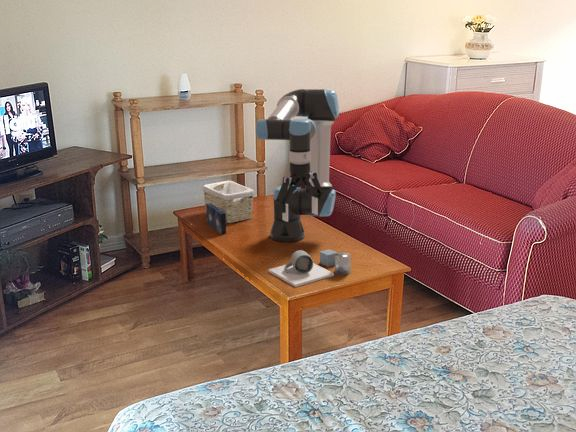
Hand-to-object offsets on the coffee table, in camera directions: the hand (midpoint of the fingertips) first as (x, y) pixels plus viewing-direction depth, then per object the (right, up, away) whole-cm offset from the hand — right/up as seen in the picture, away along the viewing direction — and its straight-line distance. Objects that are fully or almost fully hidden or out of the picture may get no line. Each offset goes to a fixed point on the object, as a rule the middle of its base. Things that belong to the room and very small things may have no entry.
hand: (300, 217), depth 252 cm
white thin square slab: (0, -22, +7) cm, 23 cm away
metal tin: (+16, -21, +8) cm, 28 cm away
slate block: (+12, -19, +16) cm, 27 cm away
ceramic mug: (-1, -21, +7) cm, 22 cm away
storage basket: (-33, 0, +77) cm, 84 cm away
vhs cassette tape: (-38, -6, +58) cm, 70 cm away
